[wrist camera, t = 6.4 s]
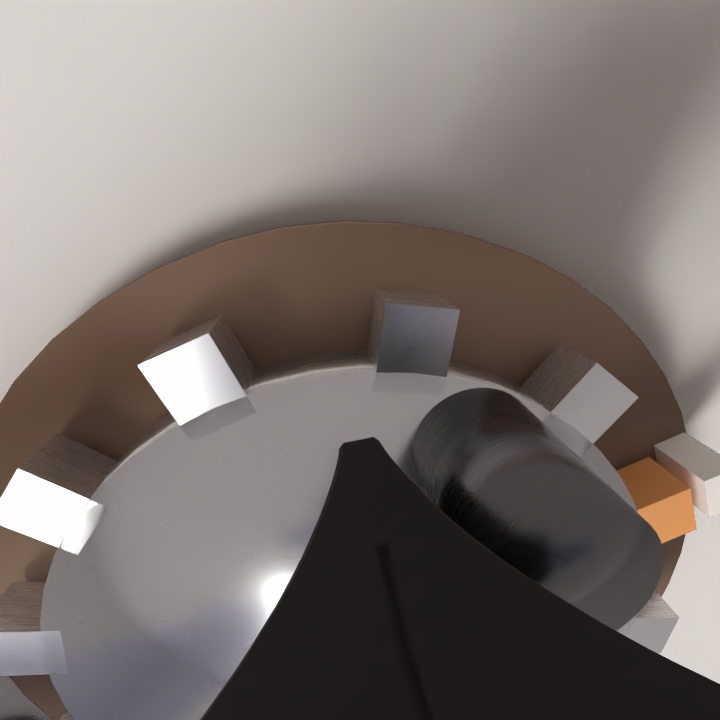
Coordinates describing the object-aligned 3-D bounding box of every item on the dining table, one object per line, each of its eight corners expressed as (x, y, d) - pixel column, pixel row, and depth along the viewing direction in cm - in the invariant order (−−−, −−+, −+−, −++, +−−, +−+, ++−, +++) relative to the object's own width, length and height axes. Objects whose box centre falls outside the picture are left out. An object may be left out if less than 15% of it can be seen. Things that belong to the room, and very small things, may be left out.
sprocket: (322, 835, 18) (327, 1082, 13) (-143, 604, 11) (-506, 929, 6) (731, 593, 16) (938, 786, 10) (437, 105, 9) (616, -32, 4)
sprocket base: (635, 691, 20) (689, 772, 17) (142, 807, 19) (112, 914, 16) (708, 153, 11) (839, 137, 8) (-188, 308, 10) (-377, 349, 7)
